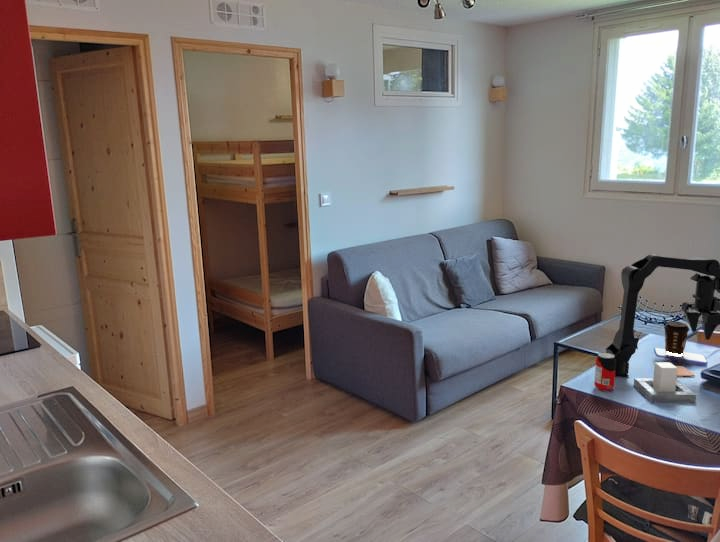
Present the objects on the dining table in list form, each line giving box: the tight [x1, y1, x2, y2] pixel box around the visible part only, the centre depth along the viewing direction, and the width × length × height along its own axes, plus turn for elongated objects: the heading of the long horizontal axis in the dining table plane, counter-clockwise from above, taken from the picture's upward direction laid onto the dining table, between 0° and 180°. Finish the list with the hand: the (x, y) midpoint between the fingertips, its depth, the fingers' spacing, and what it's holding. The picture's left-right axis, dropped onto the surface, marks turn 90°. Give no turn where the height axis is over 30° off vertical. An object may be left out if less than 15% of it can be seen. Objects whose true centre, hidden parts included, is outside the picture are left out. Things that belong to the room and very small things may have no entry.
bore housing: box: [633, 377, 697, 403], centre depth 190 cm, size 14×14×2 cm
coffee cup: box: [663, 320, 690, 354], centre depth 224 cm, size 9×8×13 cm
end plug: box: [652, 361, 677, 392], centre depth 189 cm, size 5×5×10 cm
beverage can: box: [593, 352, 616, 392], centre depth 194 cm, size 6×6×12 cm
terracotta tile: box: [675, 365, 696, 378], centre depth 208 cm, size 9×9×1 cm
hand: (700, 335), depth 203 cm, fingers open, 9 cm apart
